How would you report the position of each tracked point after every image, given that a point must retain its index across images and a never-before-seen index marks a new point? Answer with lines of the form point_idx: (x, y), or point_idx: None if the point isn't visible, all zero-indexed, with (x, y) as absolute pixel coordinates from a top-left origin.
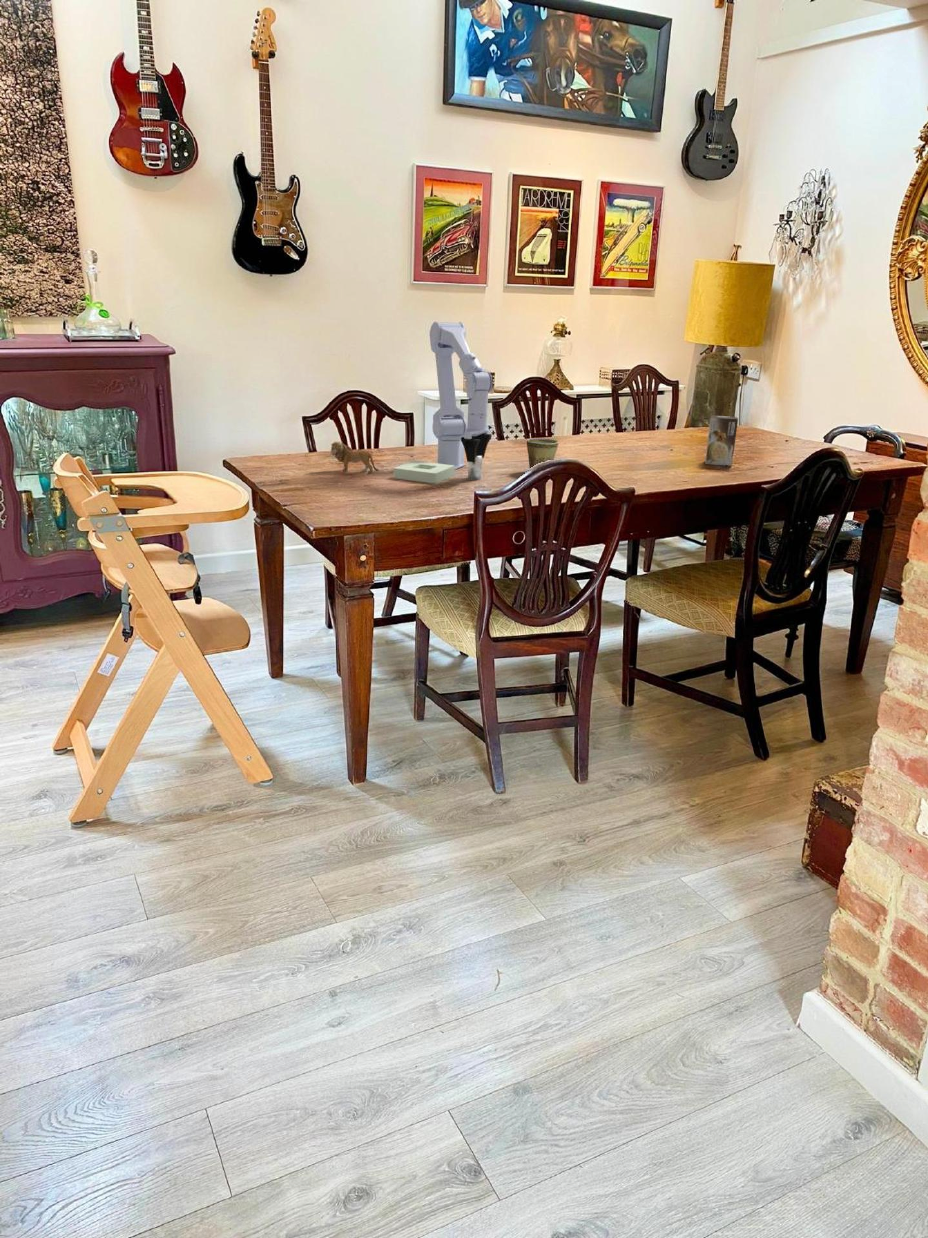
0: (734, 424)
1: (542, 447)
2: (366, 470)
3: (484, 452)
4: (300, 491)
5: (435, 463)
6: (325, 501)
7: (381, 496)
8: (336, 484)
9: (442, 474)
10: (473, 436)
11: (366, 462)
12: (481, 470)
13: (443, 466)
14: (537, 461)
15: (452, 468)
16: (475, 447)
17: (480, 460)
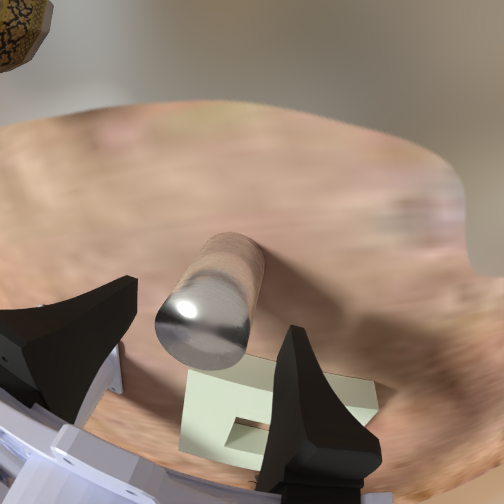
0: None
1: None
2: (252, 482)
3: (116, 290)
4: (431, 489)
5: (188, 417)
6: (496, 454)
7: (493, 423)
8: (387, 486)
9: None
10: (309, 501)
11: None
12: (215, 250)
13: (230, 402)
14: (17, 15)
15: (218, 371)
16: (343, 404)
17: (228, 290)
